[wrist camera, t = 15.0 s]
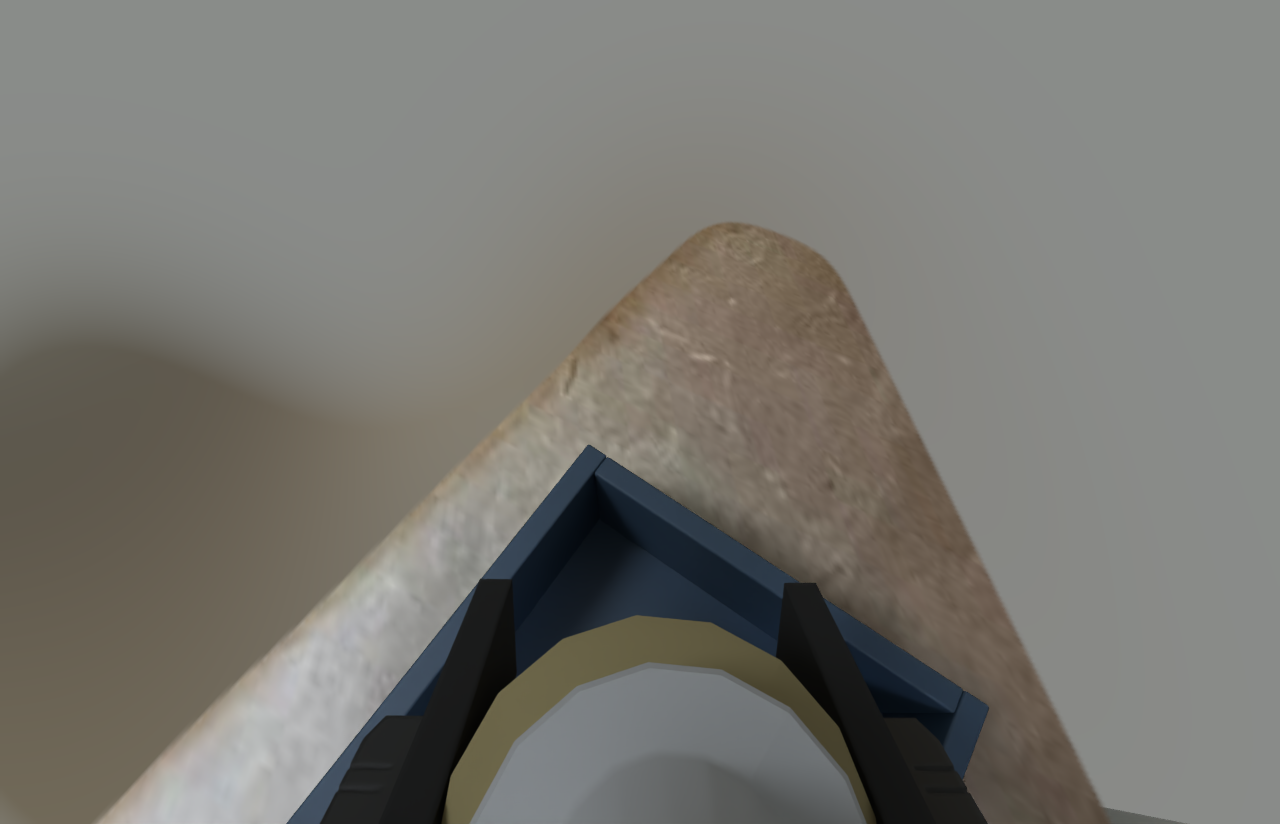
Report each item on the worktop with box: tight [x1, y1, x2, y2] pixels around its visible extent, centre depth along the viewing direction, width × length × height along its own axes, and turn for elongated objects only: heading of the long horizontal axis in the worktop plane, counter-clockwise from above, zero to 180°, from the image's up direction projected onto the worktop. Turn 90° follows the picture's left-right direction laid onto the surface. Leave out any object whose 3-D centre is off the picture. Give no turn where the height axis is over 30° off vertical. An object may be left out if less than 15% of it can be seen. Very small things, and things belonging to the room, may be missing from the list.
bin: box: [286, 445, 989, 824], centre depth 19 cm, size 15×15×6 cm
